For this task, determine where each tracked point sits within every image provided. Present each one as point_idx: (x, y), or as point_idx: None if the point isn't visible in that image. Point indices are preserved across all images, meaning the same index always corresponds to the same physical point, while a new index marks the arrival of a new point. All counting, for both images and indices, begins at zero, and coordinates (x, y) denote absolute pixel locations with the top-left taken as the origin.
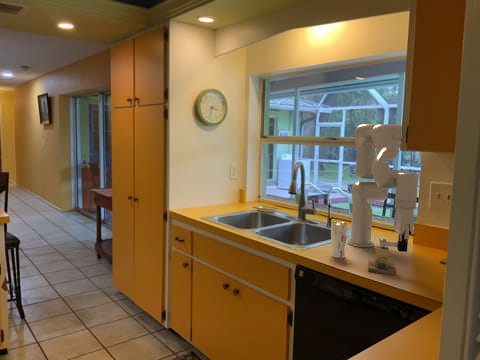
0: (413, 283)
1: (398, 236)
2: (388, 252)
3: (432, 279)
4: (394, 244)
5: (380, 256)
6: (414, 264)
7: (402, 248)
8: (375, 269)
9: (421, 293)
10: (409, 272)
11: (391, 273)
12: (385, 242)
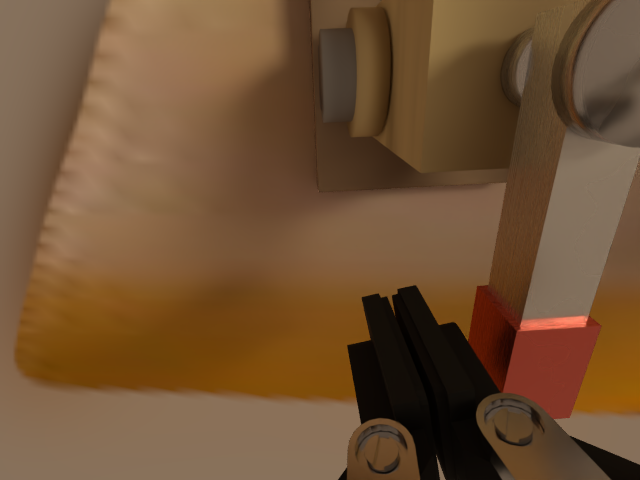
0: (203, 290)
1: (555, 458)
2: (410, 160)
3: (330, 375)
4: (515, 272)
5: (397, 52)
6: (595, 301)
7: (350, 363)
8: (311, 18)
9: (50, 323)
10: (415, 272)
11: (316, 160)
12: (561, 126)
